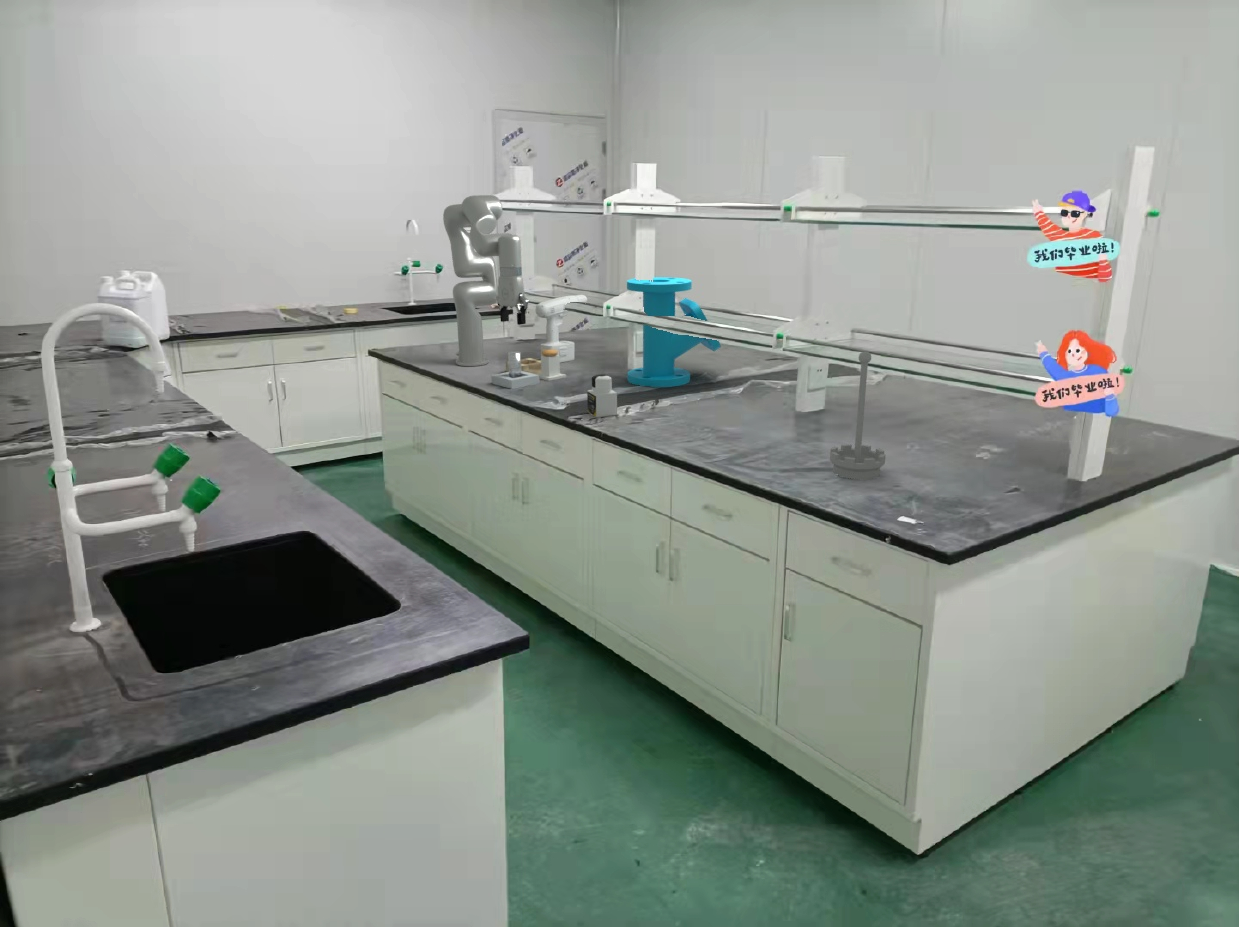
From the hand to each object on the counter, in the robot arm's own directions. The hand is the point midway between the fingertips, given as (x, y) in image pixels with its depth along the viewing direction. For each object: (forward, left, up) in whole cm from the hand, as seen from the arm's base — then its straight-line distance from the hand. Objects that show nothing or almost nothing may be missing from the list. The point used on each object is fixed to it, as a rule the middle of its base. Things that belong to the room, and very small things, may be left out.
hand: (513, 322), depth 309 cm
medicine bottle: (+53, -6, -22) cm, 57 cm away
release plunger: (+1, +15, -20) cm, 25 cm away
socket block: (0, 0, -22) cm, 22 cm away
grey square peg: (0, 0, -22) cm, 22 cm away
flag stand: (+139, +1, -22) cm, 141 cm away
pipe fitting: (+34, +44, -22) cm, 60 cm away
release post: (+1, +15, -22) cm, 26 cm away
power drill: (-21, +39, -22) cm, 49 cm away
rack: (-12, +14, -22) cm, 28 cm away
